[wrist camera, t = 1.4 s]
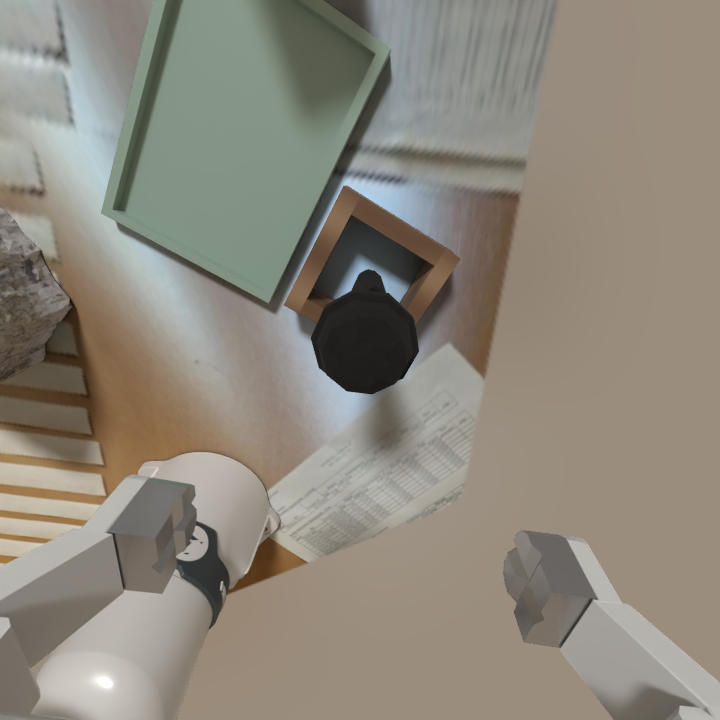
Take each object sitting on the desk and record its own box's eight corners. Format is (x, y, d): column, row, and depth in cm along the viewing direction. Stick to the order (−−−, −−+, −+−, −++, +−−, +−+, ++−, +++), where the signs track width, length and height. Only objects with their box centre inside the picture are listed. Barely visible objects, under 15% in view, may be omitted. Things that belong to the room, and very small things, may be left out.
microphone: (409, 257, 35) (446, 337, 17) (382, 310, 37) (388, 432, 19) (356, 231, 34) (333, 286, 16) (331, 287, 36) (287, 391, 18)
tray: (272, 298, 37) (268, 303, 36) (112, 211, 34) (101, 213, 33) (390, 55, 28) (390, 48, 27) (190, -89, 26) (178, -105, 24)
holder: (388, 345, 39) (389, 362, 35) (292, 293, 37) (283, 305, 33) (451, 251, 34) (460, 259, 31) (347, 185, 32) (343, 186, 29)
